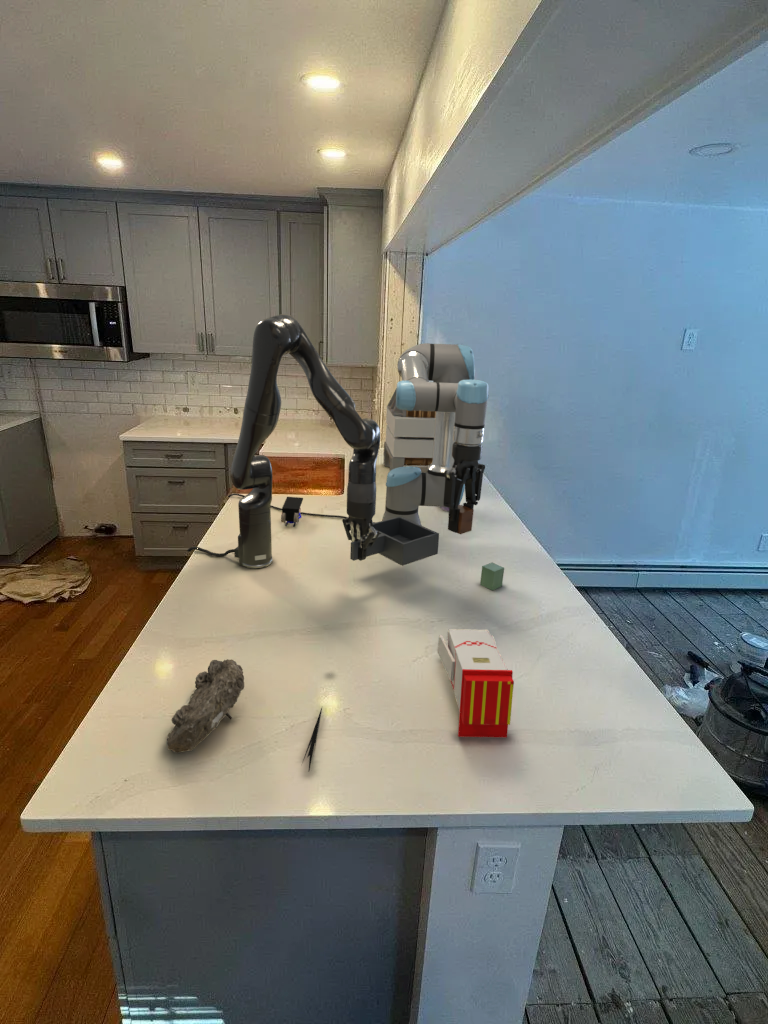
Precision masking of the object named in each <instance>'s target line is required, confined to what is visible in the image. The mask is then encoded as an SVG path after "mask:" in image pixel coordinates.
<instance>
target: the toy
mask: <svg viewBox="0 0 768 1024" xmlns="http://www.w3.org/2000/svg"><path fill="white" fill-rule="evenodd" d="M446 640H447V643H446V641H445V639H444V636H443V635H442V634H439V637H438V646H437V656H438V657H439V659H440V661H441V663H442V666H443V668H444V670H445V672H446V674H447V677H448V679H449V681H450V684H451V687H452V690H453V693H454V697H455V701H456V705H457V708H458V711H459V714H458V715H459V716H458V730H457V731H458V732H457V737H458V738H508V731H509V726H510V725H511V717H512V707H513V697H514V696H513V695H514V684H515V680H514V679H513V673H514V671H513V670H512V669H508V667H507V665H506V662H505V661H504V659H503V658H502V655H501V653H500V651H499V649H498V647H497V643H496V639H495V637H494V635H493V634H491V632H490V631H489V629H467V628H466V629H465V628H463V629H461V628H460V629H459V628H448V630H447V639H446Z"/></svg>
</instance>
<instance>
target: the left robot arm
mask: <svg viewBox="0 0 768 1024" xmlns="http://www.w3.org/2000/svg"><path fill="white" fill-rule="evenodd" d="M252 337H253V338H252V351H251V365H250V373H249V378H248V388H247V393H246V397H245V401H244V408H243V413H242V421H241V426H240V431H239V435H238V441H237V443H236V444H237V445H236V447H235V450H234V454H233V457H232V461H231V464H230V465H231V466H230V479H231V483H232V485H233V487H234V488H236V489H237V490H241V491H245V490H250V491H249V492H248V493H247V494H246V495H244V497H241V498H240V499H239V501H238V505H237V506H238V523H239V524H238V525H239V526H238V527H239V534H238V535H237V546H236V547H235V548H232V549H227V550H226V551H224V552H223V553H217V552H212V551H210V550H209V549H205V548H203V547H199V546H191V547H189V548H188V549H187V550H186V552H191V551H193V550H195V551H200V552H201V553H205V554H207V555H209V556H212V557H217V558H220V557H226V556H228V555H229V554H231V553H232V554H234V558H236V559H237V558H238V565H239V566H240V567H241V566H242V567H244V568H247V569H262V568H266V567H269V566H270V565H272V563H273V547H272V546H273V545H272V513H271V512H272V510H271V506H272V500H273V466H272V463H271V460H270V458H269V457H267V456H266V455H265V454H256V452H258V449H260V447H261V446H262V445H263V443H265V441H266V440H267V439H268V438H269V437H270V436H271V435H272V433H273V432H274V431H275V429H276V427H277V425H278V422H279V418H280V414H281V410H282V409H281V408H282V395H281V393H280V389H279V386H278V379H277V378H278V372H279V368H280V364H281V361H282V359H283V357H284V356H285V355H288V354H289V355H290V356H291V357H292V358H293V359H294V360H295V361H296V362H297V363H298V365H299V366H300V368H301V369H302V370H303V373H304V375H305V377H306V380H307V382H308V386H309V389H310V391H311V393H312V395H313V397H314V399H315V400H316V402H317V403H318V404H319V406H320V407H321V408H322V409H323V410H324V412H325V413H326V414H327V415H328V416H329V417H330V418H331V420H332V421H333V423H334V425H335V426H336V428H337V431H338V432H339V433H340V435H341V437H342V438H343V440H344V441H345V443H346V444H347V445H348V446H349V447H351V448H352V449H353V451H352V456H351V458H350V460H349V462H348V473H347V475H348V479H347V480H348V481H347V487H346V515H348V517H349V518H346V519H344V518H342V525H343V528H344V531H345V534H346V537H347V540H348V541H350V542H354V541H358V540H359V542H358V546H359V547H358V560H357V561H360V562H361V561H364V560H366V558H367V557H366V553H367V547H371V546H373V544H374V542H375V541H376V539H377V537H378V536H379V531H378V530H377V531H375V529H374V528H373V522H374V521H373V518H374V516H375V515H376V505H377V482H376V480H377V460H378V456H379V450H380V444H381V429H380V426H379V424H378V423H377V422H376V421H375V420H374V419H372V418H370V417H369V418H368V417H365V418H362V417H361V416H360V414H359V413H358V411H357V410H356V402H355V401H354V400H353V398H352V397H351V396H350V395H349V393H348V392H347V390H345V389H344V387H343V386H342V385H341V384H340V383H339V381H338V380H337V379H336V378H335V377H334V375H333V374H332V372H331V371H330V370H329V368H328V367H327V365H326V363H325V362H324V361H323V359H322V358H321V356H320V353H318V351H317V349H316V348H315V346H314V345H313V343H312V341H311V340H310V337H308V334H307V333H306V331H305V329H304V328H303V327H302V326H301V324H300V322H299V321H298V320H297V319H296V317H293V316H292V315H290V314H288V313H280V314H277V315H273V316H269V317H267V318H264V319H262V320H260V321H259V322H258V323H257V325H256V326H255V328H254V331H253V336H252ZM363 540H364V543H363ZM197 548H198V549H197Z"/></svg>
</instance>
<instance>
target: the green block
mask: <svg viewBox="0 0 768 1024" xmlns="http://www.w3.org/2000/svg"><path fill="white" fill-rule="evenodd" d="M504 574H505V567H504V566H501V565H499V564H497V563H495V562H493V561H492V562H490V563H487V564H484V565H482V567H481V575H480V583H479V585H480V586H482V587H484V588H486V589H488V590H491V591H494V590H497V589H499V588H502V587H503V581H504Z"/></svg>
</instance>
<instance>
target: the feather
mask: <svg viewBox="0 0 768 1024" xmlns="http://www.w3.org/2000/svg"><path fill="white" fill-rule="evenodd" d="M329 675H330V676H331V675H332V674H331V673H330V674H329ZM322 710H323V707H321V708H320V710H319V713H318V716H317V719H316V723H315V725H314V728H313V731H312V733H311V737H310V739H309V742H308V745H307V748H306V751H305V754H304V757H303V760H302V763H301V767H302V765H303V763H304V761H305V758H308V759H309V760H308V762H307V763H308V764H307V766H308V771H310V770H311V766H312V765H311V764H312V760H313V757H315V756H314V755H315V751H316V749H315V746H317V739H318V733H319V729H320V722H321V717H322V712H323V711H322ZM313 754H314V755H313ZM306 755H307V757H306Z"/></svg>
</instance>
